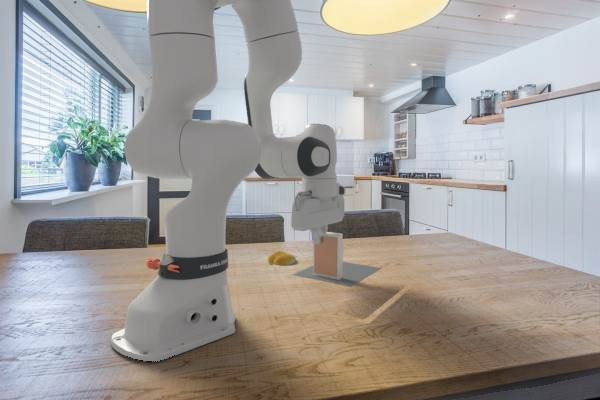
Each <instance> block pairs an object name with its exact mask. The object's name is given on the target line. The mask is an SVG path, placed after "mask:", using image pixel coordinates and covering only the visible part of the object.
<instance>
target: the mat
mask: <svg viewBox="0 0 600 400" xmlns="http://www.w3.org/2000/svg"><path fill="white" fill-rule="evenodd" d="M379 270H382V267H378V266H372V265H365V264H360V263H354V262H345V261H343V266H342V278H341V279H339V280H337V279H332V278H327V277H322V276H317V275H313V265H312V266H309V267H307V268H305V269H302V270H300V271H297V272H295V273H293V274H291V275H292V276H297V277H301V278H307V279H312V280H316V281H321V282H326V283H327V282H328V283H330V284H331V283H332V284H335V285H342V286H345V287H353V286H354V285H356V284H357V283H359V282H361V281H363V280H364V279H366V278H368V277H369V276H372V275H373V274H374V273H377V272H379Z"/></svg>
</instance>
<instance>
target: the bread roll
mask: <svg viewBox="0 0 600 400" xmlns="http://www.w3.org/2000/svg"><path fill="white" fill-rule="evenodd" d="M296 261H297V259H296V256H294V254H290V253H287V252H285V251H282V250H277V251H274V252H272V253H271V254H270V255H268V258H267V262H268V264H269V265H270V266H273V265H276V266H290V265H293V264H295V263H297V262H296Z"/></svg>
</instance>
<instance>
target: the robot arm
mask: <svg viewBox="0 0 600 400" xmlns="http://www.w3.org/2000/svg"><path fill="white" fill-rule="evenodd" d="M146 5H147V6H146V7H147V8H146V10H147V11H146V13H147V29H148V41H149V42H148V43H149V48H150V49H149V50H150V60H151V76H152V77H151V78H152V86H151V93H150V99H149V102H148V105H147V107H146V109H145V112H144V114H143V116H142V118H141V119H140V120H139V121H138V122H137V124H135V125H134V126H133V127H132V128H131V129H130V130H129V131H128V133H127V136H126V137H125V141H124V146H123V147H124V155H125V158H126V162H127V164H128V165H129V167H130V168H131V170H133V171H134V172H135V173H136V174H138V175H141V176H146V177H150V178H154V179H159V180H191V188H190V191H189V193H188V195H187V196H186V197H183V198H182V199H180V200H178V201H176V202H175V203H172V205H171V206H170V207H169V208H168V210H167V211H166V214H165V217H164V230H165V232H164V233H165V252H164V254H163V257H162V259H160V258H155V257H149V258H148V259H147V260H146V262H145V265H146V267H147V269H150V270H154V271H156V270H157V274H158V275H157V276H156V277H155V278H154V279H153V280H152V281H151V282H150V283H149V284H148V285H147V286H146V287H145V288H144V289H143V291H141V292H140V293H139V294H138V296H136V297H135V298H134V299H133V300H132V301H131V302H130V303H129V305H128V307H127V311H126V315H125V322H124V328H122V329H120V330H118V331H116V332H114V333H113V334H112V335H111V338H110V344H111V347H112V348H113V349H114V350H115V351H116V352H117V353H119V354H121V355H123V356H124V357H127V356H128V357H127V358H129V357H131V358H130V359H132V358H133V359H132V360H135V359H138V360H137V361H139V360H143V361H142V362H146V361H152V363H158V362H161V361H160V360H162V361H164V359H165V360H167V359H170V358H172V356H173V357H175V356H177V355H180V354H182V353H186V352H188V351H190V350H194V349H197V348H199V347H201V346H204V345H208V344H209V343H211V342H215V341H217V340H220V339H223V338H225V337H228V336H230V335H233V334H235V332H236V328H235V321H236V319H237V318H236V315H235V311H234V309H233V305H232V301H231V300H232V299H231V295H230V294H231V293H230V289H229V283H228V272H227V269H228V268H229V252H228V248H226V227H227V226H226V225H227V224H226V222H227V213H228V208H229V204H230V201H231V199H232V196H233V195H234V193H235V191H236V189H238V187H239V186H240V184H241V183H242V182H243V181H244V180H245V179H247V178H248V177H249V176H250V175H252V174H253V172H255V174H257V175H258V176H259V177H260V178H262V179H263V180H272V179H273V180H274V179H281V178H282V179H284V178H285V179H287V178H288V179H295V178H297V179H298V178H299V179H301V191H299V192H298V193H297V194H296V196H295V197H294V201H293V203H292V206H291V207H292V208H291V217H290V218H291V219H290V226H291V228H292V229H293V231H300V232H305V231H309V230H310V233H311V235H312V244H313V243H314V244H320V243H324V242H325V235H326V232H328V229H329V228H328V227H329V225H333V224H337V223H340V222H342V221H343V219H344V217H345V197H344V196H345V195H346V187H345V186H343V185H342V184H340V183H339V182H338V181H337V180H338V179H337V178H338V176H337V173H336V166H337V165H336V164H337V161H338V155H337V154H338V153H337V152H338V151H337V150H338V149H337V148H338V147H337V140H336V139H337V137H336V133H335V130H334V128H333V127H332V126H329V125H328V124H327V125H326V124H321V123H310V124H307V125H305V126H304V129H303V131H302V132H301V133H299V134H296V135H294V136H287V137H286V136H285V137H284V136H283V137H278V136H276V134H275V133H274V129H273V120H272V109H271V107H272V106H271V100H272V97H273V95H274V93H275V92H276V90H277V89H278V88H280V87H281V86H282V85H284V84H285V83H287V82H288V81H289V80H290V79H291V78H292V77H293V76H294V75H295V74H296V73H297V71H298V69H299V68H300V65H301V63H302V60H303V59H302V57H303V48H302V42H301V38H300V32H299V28H298V24H297V23H298V22H297V19H296V15H295V11H294V8H293V5H292V2H291V0H147V3H146ZM226 6H231V8H232V9H233V10H234V11H235V13H236V14H237V16H238V18H239V19H240V22H241V24H242V29H243V34H244V38H245V39H244V40H245V43H246V47H247V53H248V54H247V55H248V66H247V67H248V69H247V72H246V73H245V75H244V80H243V87H244V88H243V90H244V91H243V92H244V100H245V101H244V102H245V108H246V116H247V123H245V122H244V123H243V122H241V121H235V120H228V119H205V120H204V119H201V120H197V119H196V120H194V119H193V114H194V109H195V107H196V105H197V103H199V102H200V101H202V100H203V99H204V98H206V97H207V96H209V95H210V94H211V93H213V92H214V90H215V88H216V86H217V85H218V84H217V83H218V79H219V77H218V65H217V64H218V63H217V62H218V61H217V53H216V52H217V51H216V40H215V39H216V37H215V30H214V29H215V28H214V22H213V21H214V14H215V13H214V12H215V11H217V10H219V9H221V8H223V7H226ZM174 355H175V356H174ZM169 357H170V358H169ZM153 361H154V362H153ZM155 361H156V362H155ZM157 361H158V362H157Z"/></svg>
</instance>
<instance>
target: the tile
mask: <svg viewBox="0 0 600 400" xmlns="http://www.w3.org/2000/svg"><path fill="white" fill-rule="evenodd" d="M343 235H344V234H343V233H340V232H332V231H327V232H326V235H325V242H324V243H320V244H314V243H313V242H312V266H313V275H317V276H322V277H327V278H332V279H337V280H339V279H341V278H342V266H343V262H344V261H343V256H344V255H343V250H344V249H343V245H344V244H343V241H344V240H343V238H344V237H343Z"/></svg>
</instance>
